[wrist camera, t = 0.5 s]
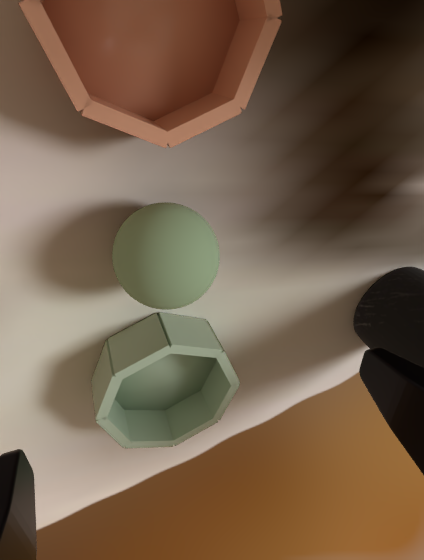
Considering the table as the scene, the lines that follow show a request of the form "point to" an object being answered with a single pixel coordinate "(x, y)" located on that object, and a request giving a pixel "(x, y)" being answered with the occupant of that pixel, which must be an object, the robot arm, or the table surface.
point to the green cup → (162, 381)
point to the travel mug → (394, 314)
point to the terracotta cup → (156, 59)
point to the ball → (165, 255)
